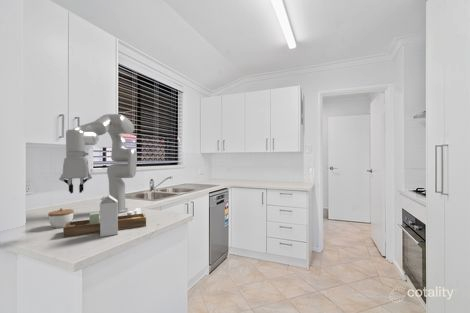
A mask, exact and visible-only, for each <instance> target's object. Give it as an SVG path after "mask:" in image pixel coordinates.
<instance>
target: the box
mask: <svg viewBox="0 0 470 313" xmlns="http://www.w3.org/2000/svg"><path fill="white" fill-rule="evenodd" d="M143 227H147V217H146V214H145V213H144V212H143V213H142V212H141V214H134V215H127V214H126V215H125V214H124V215H118V231H120V230H121V231H122V230H127V229H134V228H136V229H137V228H143ZM62 228H63V230H62V231H63V232H62V233H63V236H62V237H63V238H71V237H77V236H78V237H79V236H85V235H91V234H92V235H93V234H100V222H99V223H95V224H90V222H89V219H82V220H75V221H73V220H72V222H68V223H67V224H66V225H65V226H64V227H62Z"/></svg>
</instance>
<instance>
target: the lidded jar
mask: <svg viewBox="0 0 470 313" xmlns="http://www.w3.org/2000/svg"><path fill="white" fill-rule="evenodd" d="M47 215H48V221H49V225H51V226H52V227H53V228H55V229H60V228H63V227H64V226H65V225H66V224H67V223H68V222H73V219H74V209H72V208H71V209H70V208H68V209H63V208H59V210H53V211H50V212H48V213H47Z"/></svg>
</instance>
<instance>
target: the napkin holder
mask: <svg viewBox="0 0 470 313" xmlns="http://www.w3.org/2000/svg"><path fill="white" fill-rule="evenodd" d="M134 214H142V208H141V207H136V208H135V209H133V210H130V211H129V210H128V212H127V214H126V215H134Z"/></svg>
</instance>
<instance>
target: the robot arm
mask: <svg viewBox="0 0 470 313" xmlns="http://www.w3.org/2000/svg"><path fill="white" fill-rule="evenodd" d="M134 131H135V126H134V124H133V122H132V121H131V120H130V119H128V118H127V116H125V115H123V114H120V113H115V114H114V113H108V114H103V115H101V116H100V117H99V118H97V119H96V120H94V121H91V122H88V123H85V124H81V125H78V126H76V127H74V128H72V129H67V130H66V132H65V153H66V154H65V155H66V156H65V158H63V163H62V164H63V165H62V174H61V175H60V177H59V178H58V179H59V181H61V182H64V183H66V184H67V185H68V192H69V193H70V194H73V193H74V183H73V179H79V182H80V183H79V184H78V189H79V190H78V192H79V194H81V193H83V192H84V184H85V183H86V182H88V181H89V180H92V179H93V176H92V175H91V173H90V172H89V170H90V168H89V161H88V158H87V156H89V152H86V146H95V145H96V144H97V143H98V142H99V138H100V137H99V136H103V135H105V134H106V133H108V135H109V136H110V138H111V141H112V142H111V152H110V154H111V156H110V158H111V161H112V162H115V163H113V164H110V165H108V167H107V168H106V174H107V180H108V194H109V195H111V196H112V197H114V198H115V199H117V200H118V214H122V213H126V212H127V211H129V208H128V207H126V184H125V181H124V180H123V179H133V178H134V177H135V176H136V173H137V162H138V161H137V160H138V152H137V150H136V149H134V147H133V148H132V147H127V140H126V139H125V137H124V136H123V135H131V134H132V133H134Z"/></svg>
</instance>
